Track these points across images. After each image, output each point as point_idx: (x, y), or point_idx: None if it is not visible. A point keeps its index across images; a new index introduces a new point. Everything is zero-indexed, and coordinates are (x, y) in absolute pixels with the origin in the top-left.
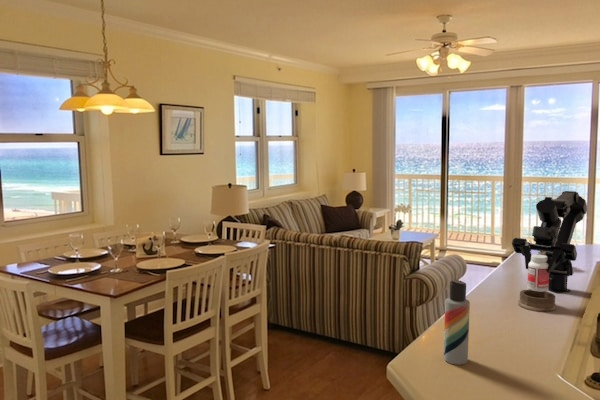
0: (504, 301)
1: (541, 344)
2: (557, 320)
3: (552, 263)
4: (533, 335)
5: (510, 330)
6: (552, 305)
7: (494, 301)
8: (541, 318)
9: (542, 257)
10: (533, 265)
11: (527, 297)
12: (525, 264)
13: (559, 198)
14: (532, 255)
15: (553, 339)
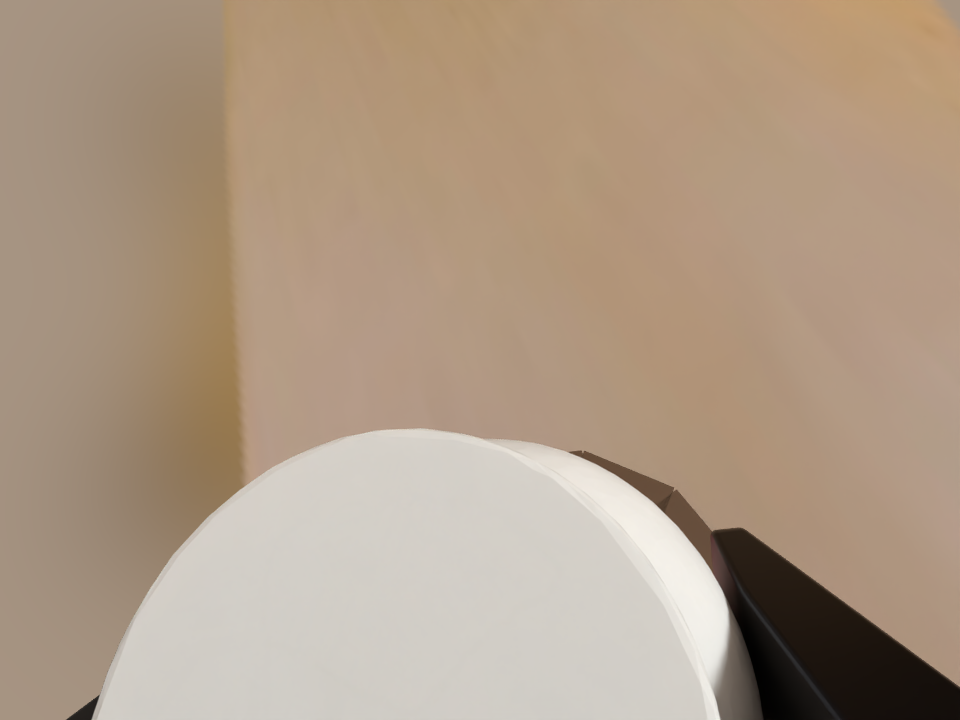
0: (878, 546)
1: (309, 33)
2: (326, 395)
3: (77, 716)
4: (367, 84)
5: (481, 50)
6: None
7: (943, 465)
8: (421, 350)
9: (213, 565)
10: (514, 445)
11: (589, 455)
12: (791, 563)
13: None
14: (650, 674)
15: (279, 114)
